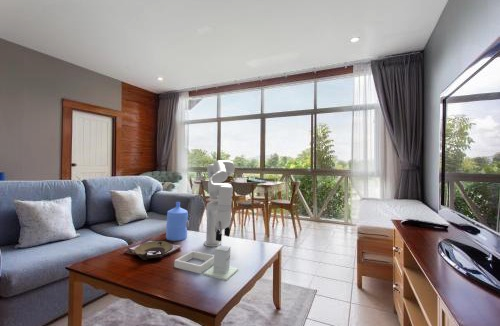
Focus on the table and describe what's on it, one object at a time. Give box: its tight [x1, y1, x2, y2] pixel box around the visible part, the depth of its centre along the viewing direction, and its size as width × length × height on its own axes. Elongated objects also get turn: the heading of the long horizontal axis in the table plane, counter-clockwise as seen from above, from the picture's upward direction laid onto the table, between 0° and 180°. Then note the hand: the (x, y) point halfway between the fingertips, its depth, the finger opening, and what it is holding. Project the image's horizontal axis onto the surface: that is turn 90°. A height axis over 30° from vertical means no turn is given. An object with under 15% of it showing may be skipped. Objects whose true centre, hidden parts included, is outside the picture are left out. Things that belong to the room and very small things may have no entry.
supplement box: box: [212, 245, 232, 274], centre depth 140 cm, size 7×7×13 cm
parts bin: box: [173, 250, 214, 274], centre depth 149 cm, size 17×17×4 cm
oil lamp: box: [133, 240, 173, 261], centre depth 158 cm, size 22×30×8 cm
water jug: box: [165, 201, 189, 242], centre depth 195 cm, size 16×16×28 cm
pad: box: [203, 265, 239, 281], centre depth 140 cm, size 14×14×1 cm
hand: (222, 238), depth 140 cm, fingers open, 9 cm apart
